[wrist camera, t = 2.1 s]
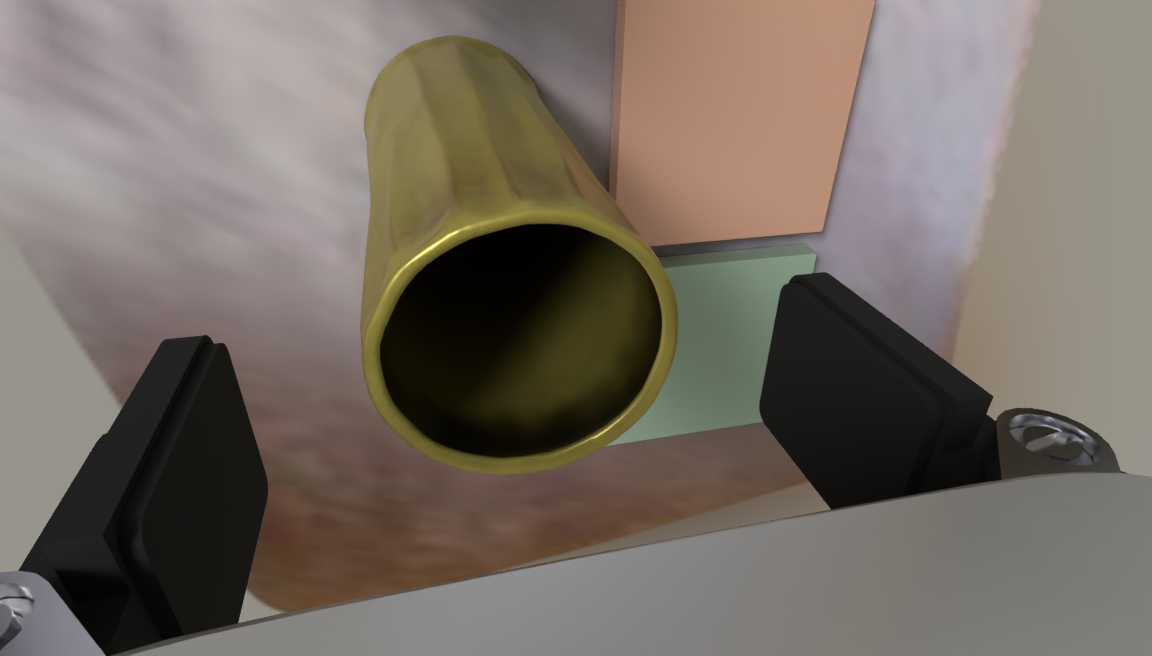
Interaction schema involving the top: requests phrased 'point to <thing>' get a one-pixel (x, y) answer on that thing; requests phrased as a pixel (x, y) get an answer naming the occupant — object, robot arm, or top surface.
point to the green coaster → (720, 338)
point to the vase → (500, 273)
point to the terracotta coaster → (731, 114)
